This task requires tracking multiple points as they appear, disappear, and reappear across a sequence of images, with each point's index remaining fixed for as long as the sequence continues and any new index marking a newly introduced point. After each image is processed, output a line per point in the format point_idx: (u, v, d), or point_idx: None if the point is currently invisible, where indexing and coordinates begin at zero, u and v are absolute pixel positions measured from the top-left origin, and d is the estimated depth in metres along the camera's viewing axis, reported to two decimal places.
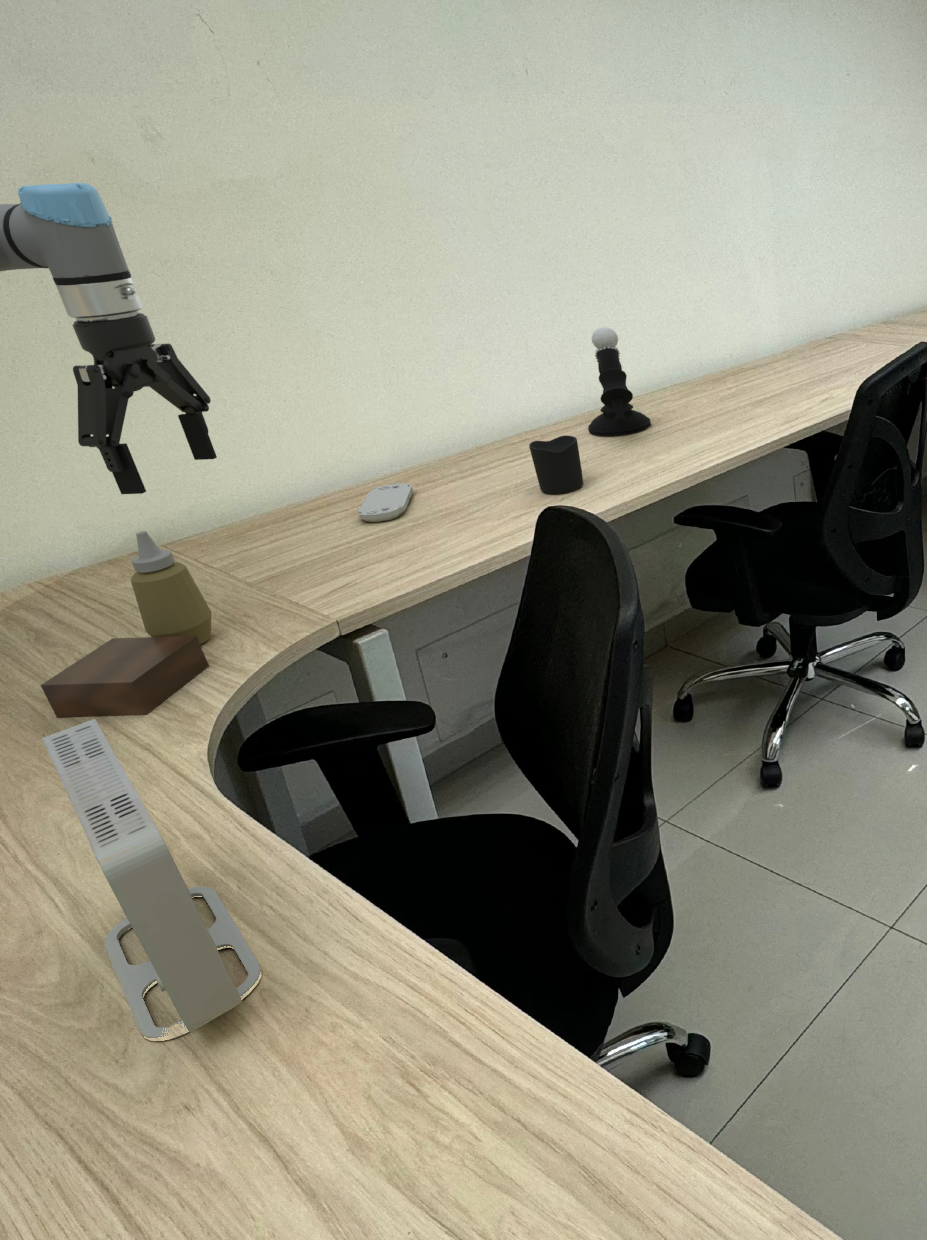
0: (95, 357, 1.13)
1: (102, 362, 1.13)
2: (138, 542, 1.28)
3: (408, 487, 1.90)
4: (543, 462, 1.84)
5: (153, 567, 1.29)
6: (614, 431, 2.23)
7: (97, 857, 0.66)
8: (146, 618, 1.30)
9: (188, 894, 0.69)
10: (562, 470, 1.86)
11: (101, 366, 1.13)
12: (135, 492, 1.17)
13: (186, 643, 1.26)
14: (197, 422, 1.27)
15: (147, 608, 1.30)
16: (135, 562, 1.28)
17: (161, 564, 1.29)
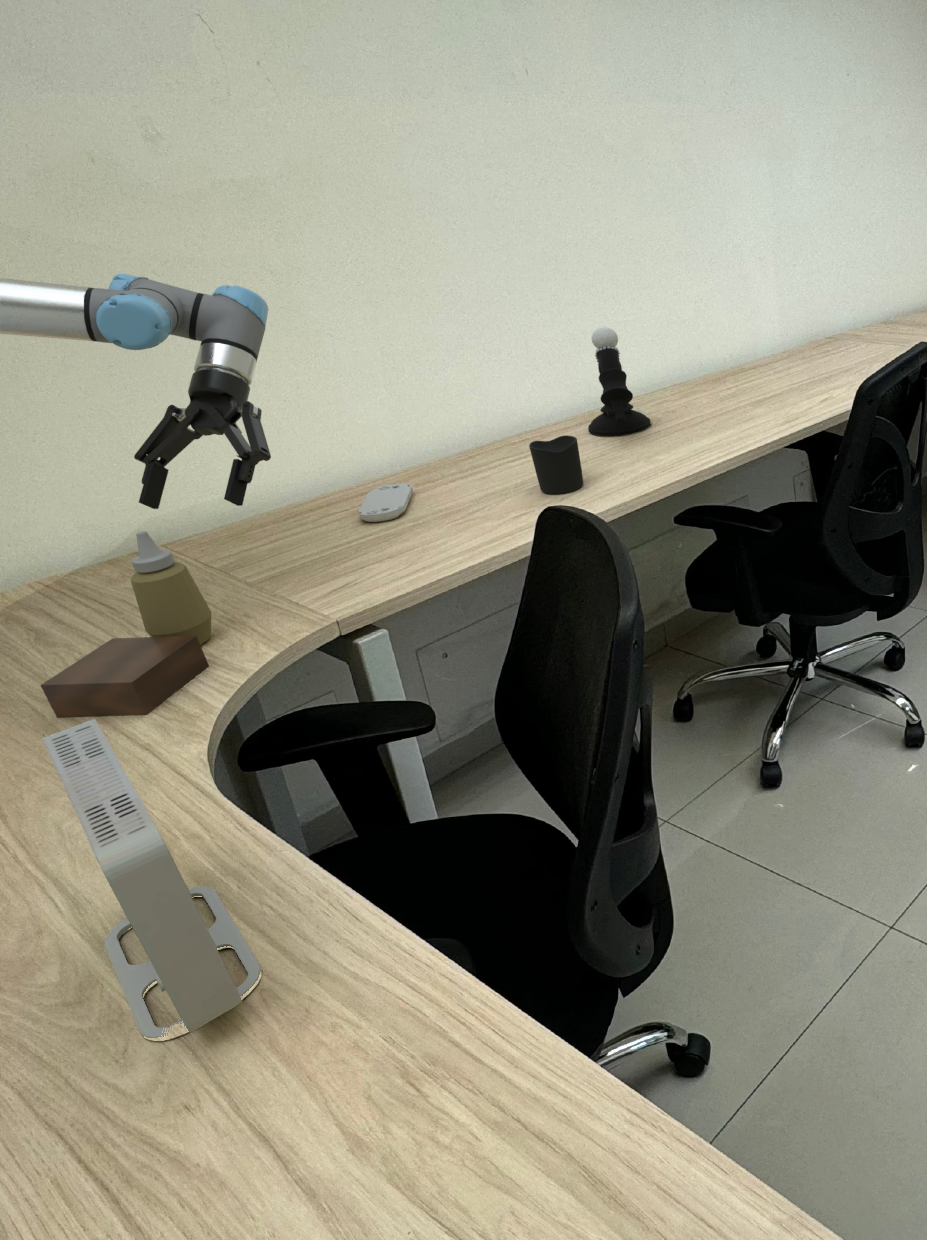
0: (236, 401, 1.42)
1: None
2: (138, 542, 1.28)
3: (408, 487, 1.90)
4: (543, 462, 1.84)
5: (153, 567, 1.29)
6: (614, 431, 2.23)
7: (97, 857, 0.66)
8: (146, 618, 1.30)
9: (188, 894, 0.69)
10: (562, 470, 1.86)
11: None
12: (238, 502, 1.37)
13: (186, 643, 1.26)
14: (165, 475, 1.40)
15: (147, 608, 1.30)
16: (135, 562, 1.28)
17: (161, 564, 1.29)
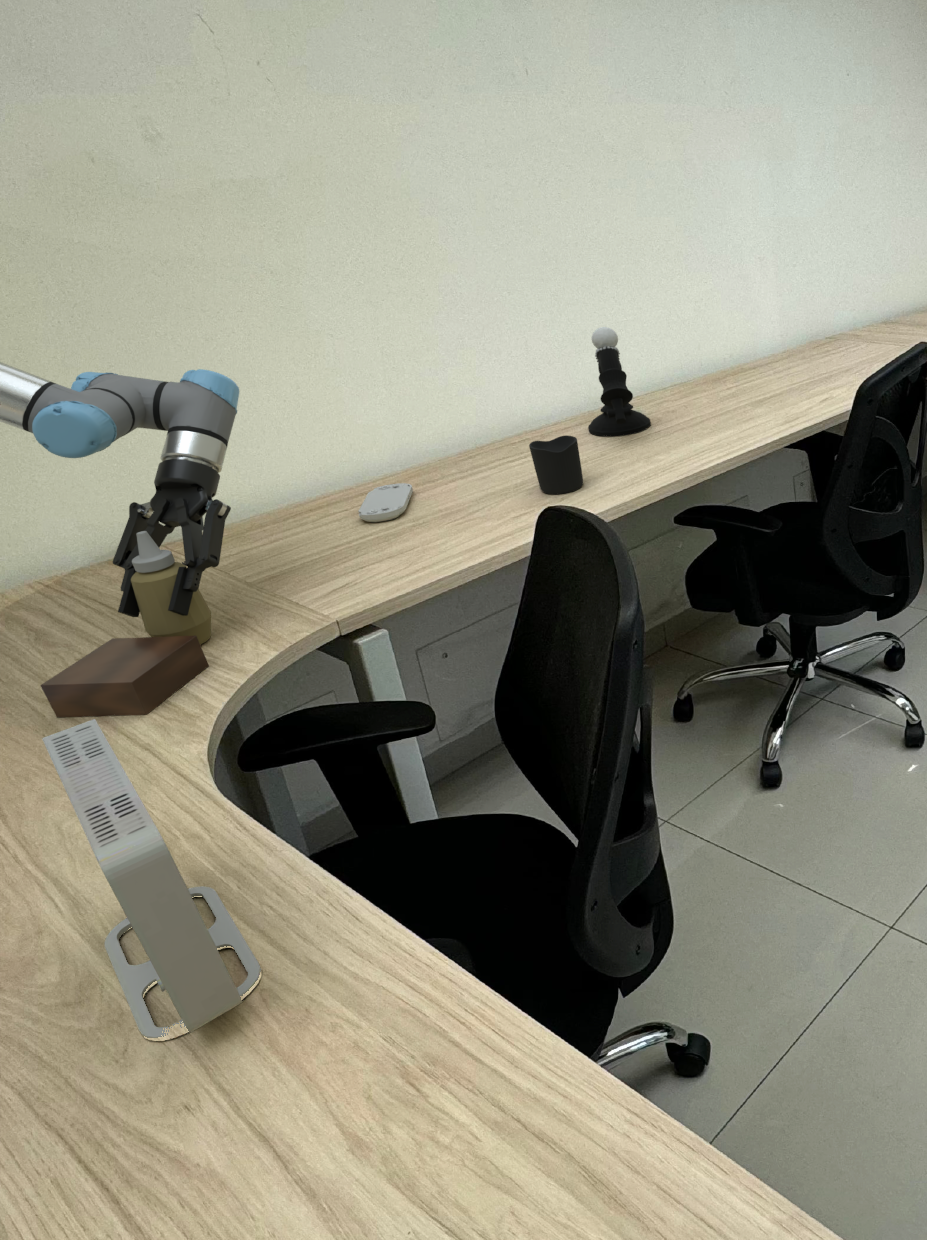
0: (206, 492, 1.36)
1: (206, 497, 1.36)
2: (138, 542, 1.28)
3: (408, 487, 1.90)
4: (543, 462, 1.84)
5: (154, 567, 1.29)
6: (614, 431, 2.23)
7: (97, 857, 0.66)
8: (146, 618, 1.30)
9: (188, 894, 0.69)
10: (562, 470, 1.86)
11: None
12: (183, 612, 1.30)
13: (186, 643, 1.26)
14: None
15: (147, 608, 1.30)
16: (135, 562, 1.28)
17: (161, 564, 1.29)
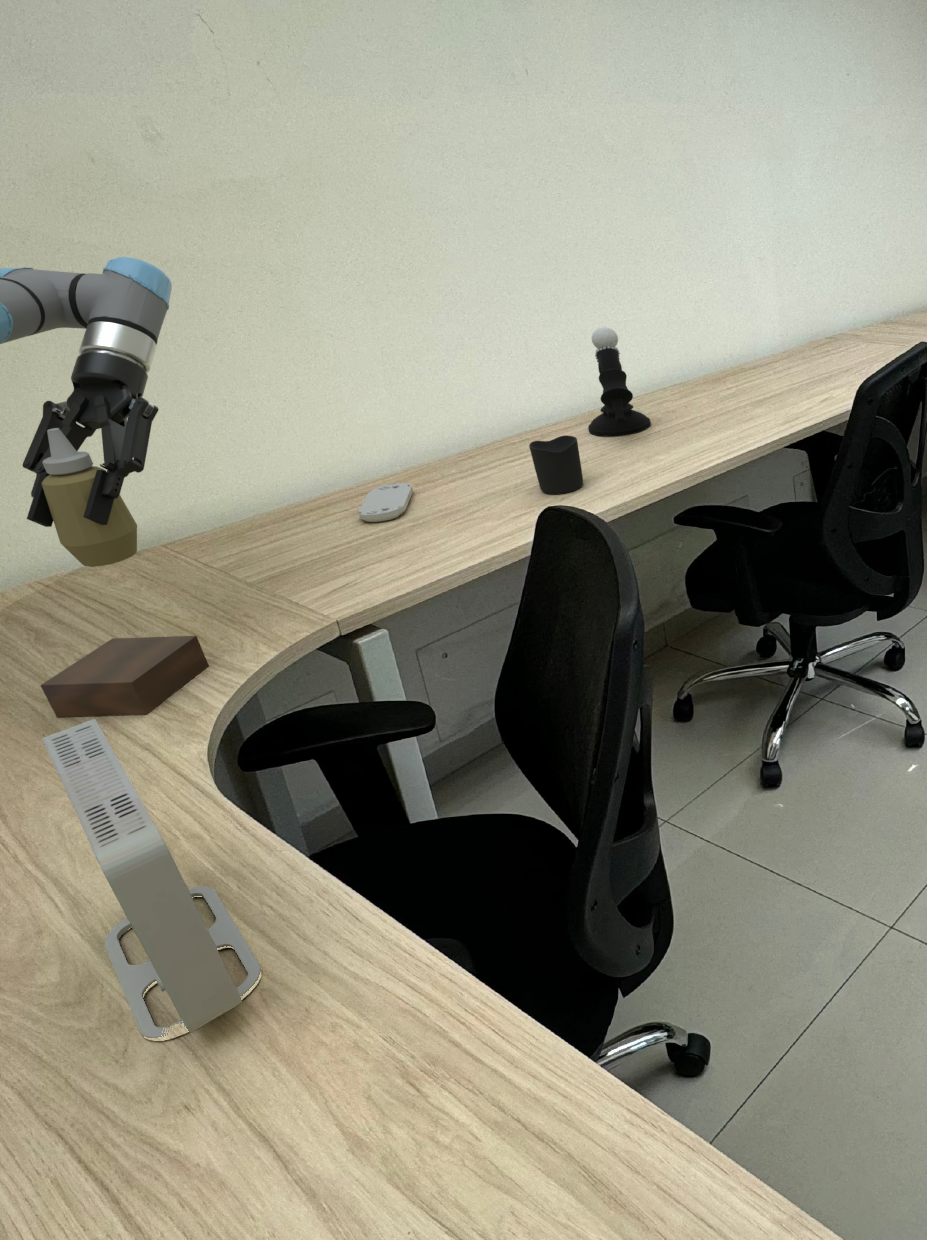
0: (130, 390, 1.22)
1: None
2: (49, 440, 1.14)
3: (408, 487, 1.90)
4: (543, 462, 1.84)
5: (67, 468, 1.15)
6: (614, 431, 2.23)
7: (97, 857, 0.66)
8: (60, 527, 1.16)
9: (188, 894, 0.69)
10: (562, 470, 1.86)
11: None
12: (102, 521, 1.16)
13: (186, 643, 1.26)
14: None
15: (60, 516, 1.16)
16: (46, 462, 1.14)
17: (76, 466, 1.15)
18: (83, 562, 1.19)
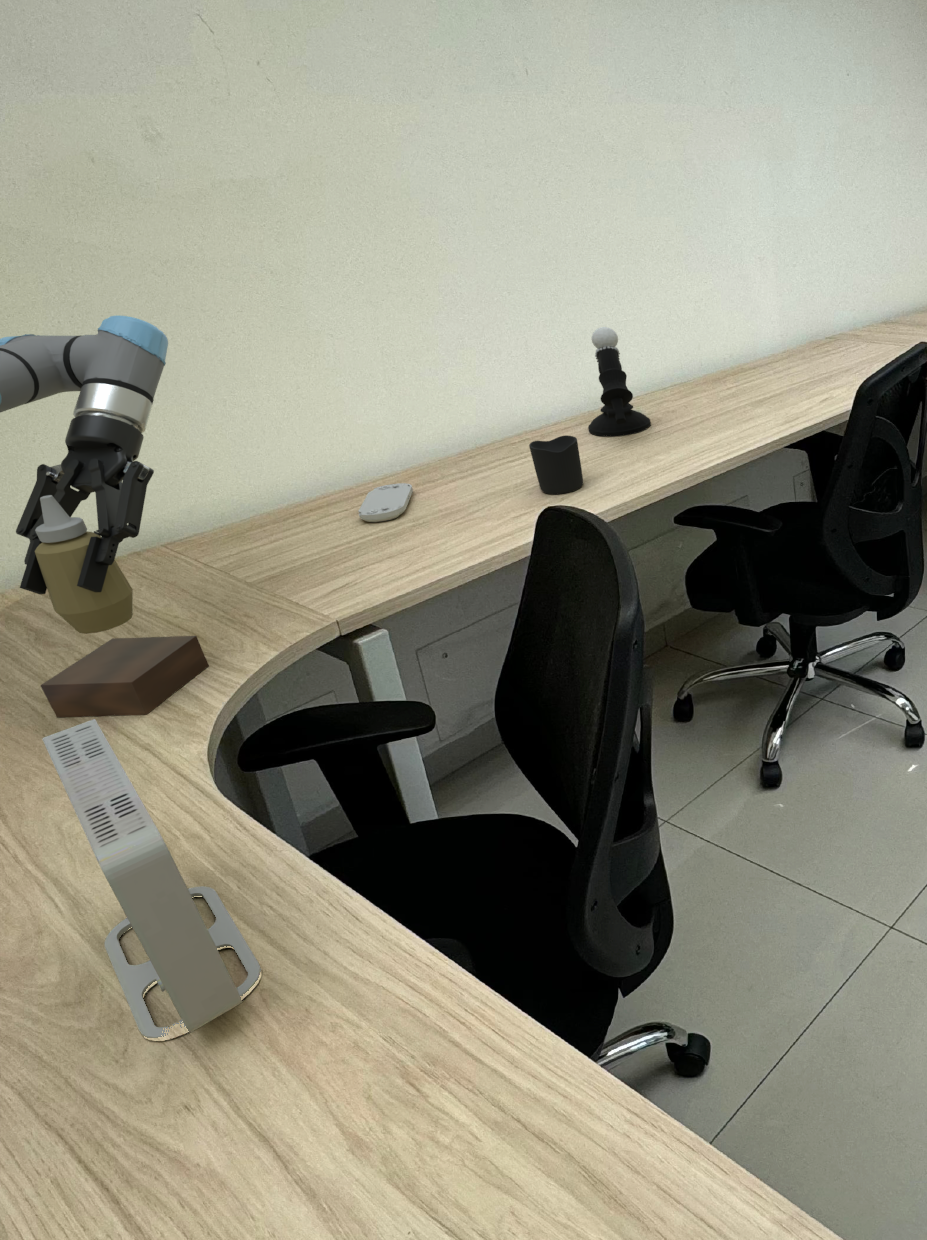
0: (125, 452, 1.20)
1: (126, 459, 1.20)
2: (42, 508, 1.12)
3: (408, 487, 1.90)
4: (543, 462, 1.84)
5: (60, 536, 1.13)
6: (614, 431, 2.23)
7: (97, 857, 0.66)
8: (53, 595, 1.14)
9: (188, 894, 0.69)
10: (562, 470, 1.86)
11: None
12: (96, 588, 1.14)
13: (186, 643, 1.26)
14: None
15: (54, 584, 1.14)
16: (39, 530, 1.12)
17: (70, 533, 1.13)
18: (77, 629, 1.17)
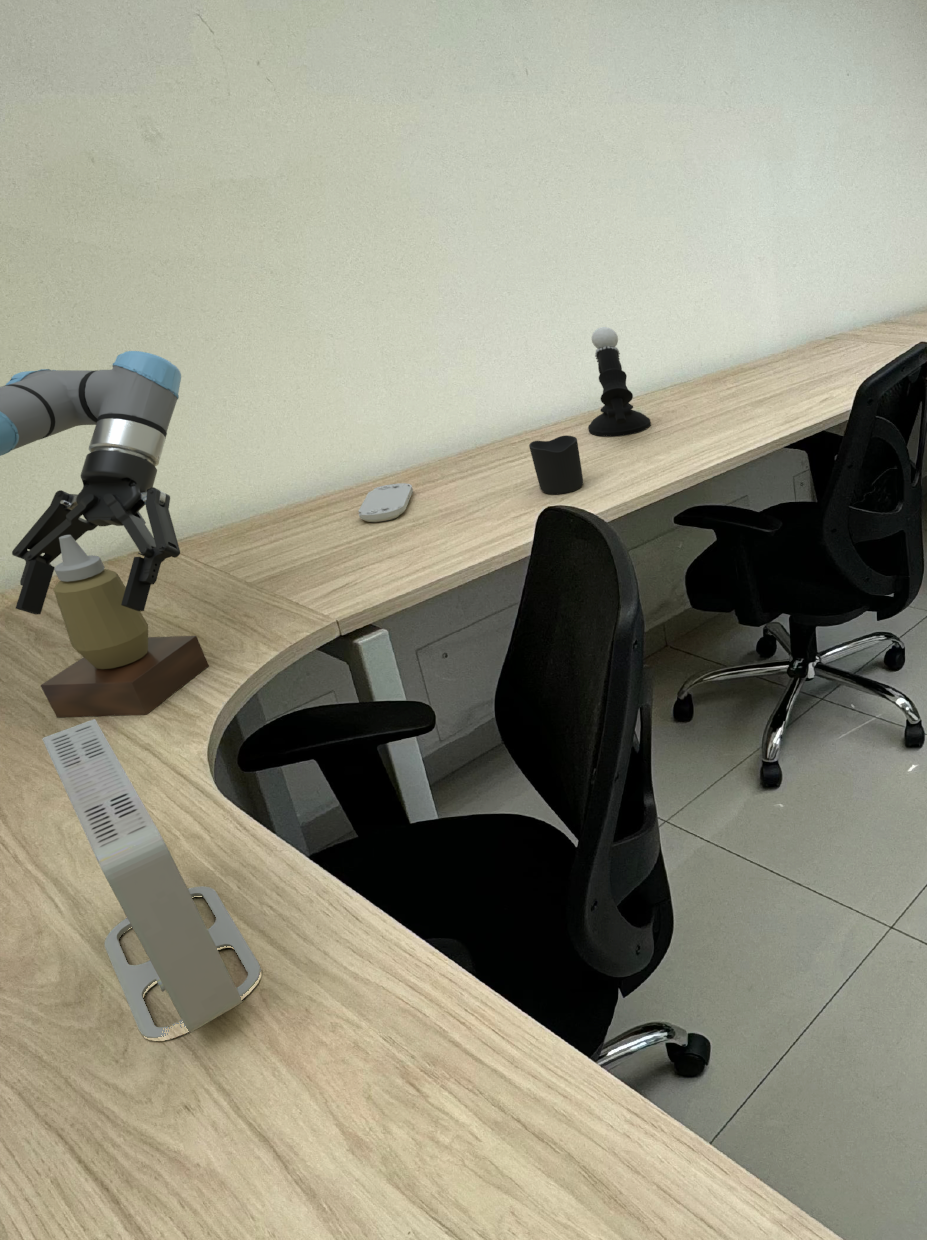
0: (139, 487, 1.22)
1: None
2: (61, 547, 1.14)
3: (408, 487, 1.90)
4: (543, 462, 1.84)
5: (79, 575, 1.15)
6: (614, 431, 2.23)
7: (97, 857, 0.66)
8: (71, 632, 1.17)
9: (188, 894, 0.69)
10: (562, 470, 1.86)
11: None
12: (139, 607, 1.17)
13: (186, 643, 1.26)
14: (50, 574, 1.19)
15: (72, 622, 1.16)
16: (58, 570, 1.14)
17: (88, 572, 1.15)
18: (94, 665, 1.19)
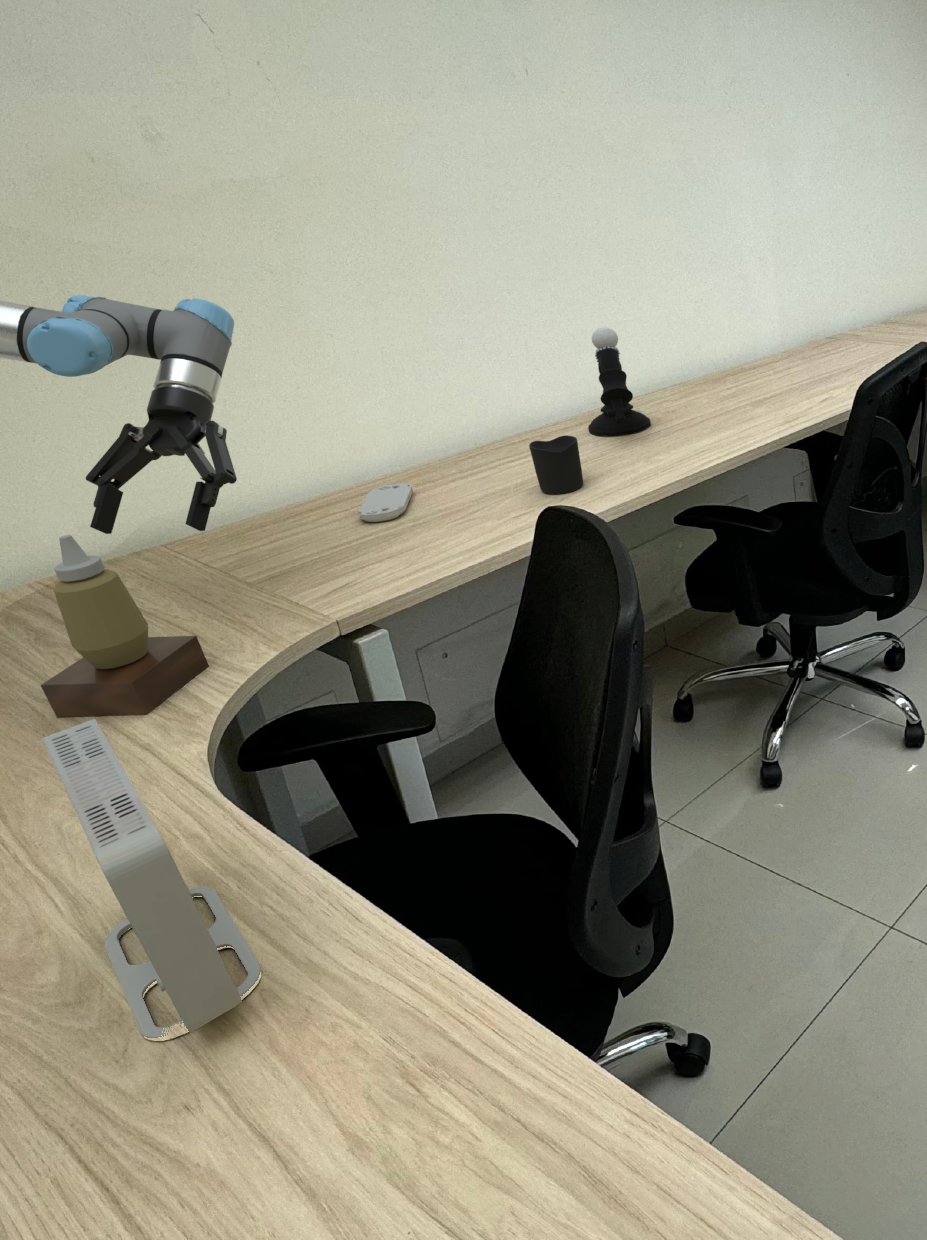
0: (199, 420, 1.34)
1: None
2: (61, 547, 1.14)
3: (408, 487, 1.90)
4: (543, 462, 1.84)
5: (79, 575, 1.15)
6: (614, 431, 2.23)
7: (97, 857, 0.66)
8: (71, 632, 1.17)
9: (188, 894, 0.69)
10: (562, 470, 1.86)
11: None
12: (201, 527, 1.29)
13: (186, 643, 1.26)
14: (119, 498, 1.32)
15: (72, 622, 1.16)
16: (58, 570, 1.14)
17: (88, 572, 1.15)
18: (94, 665, 1.19)
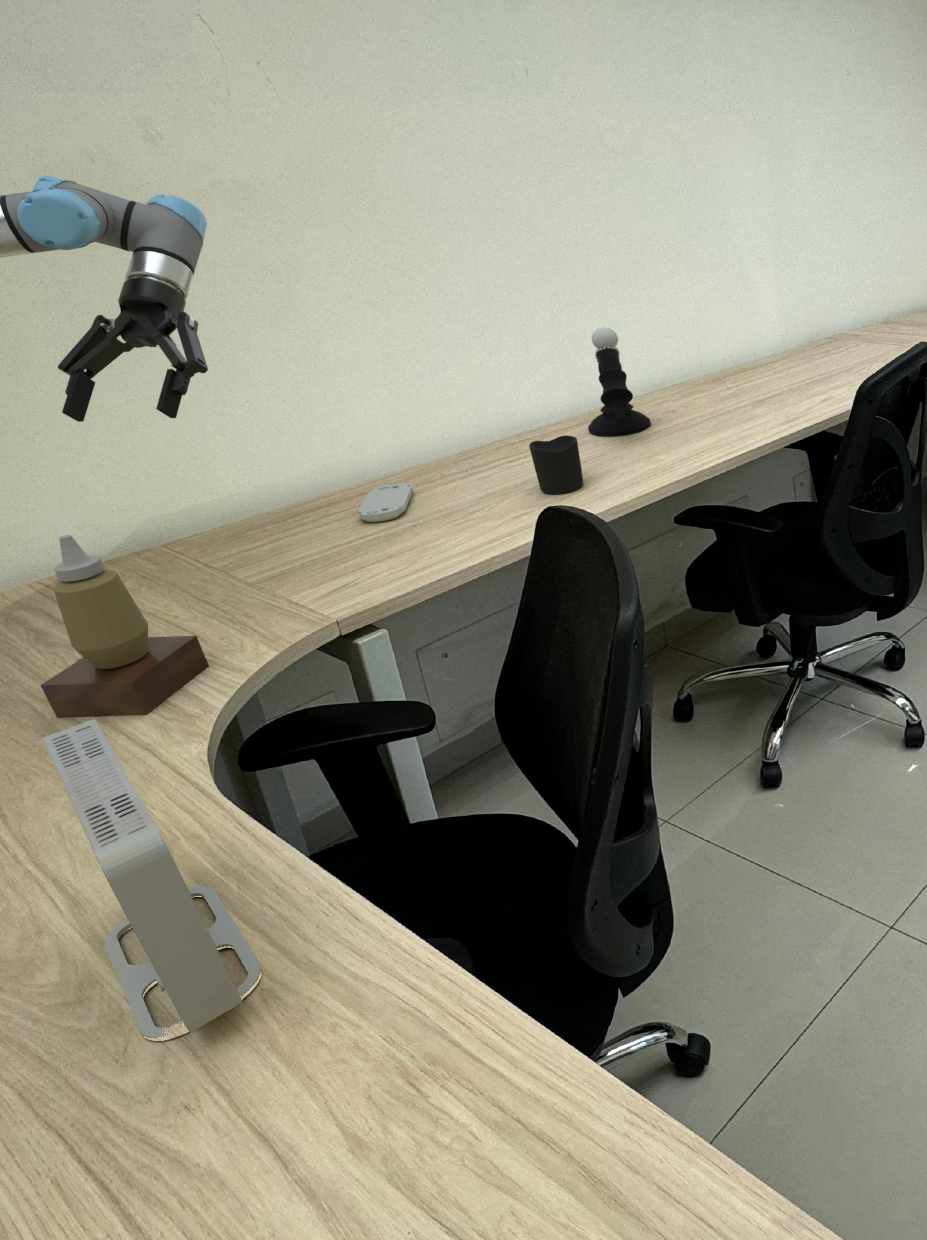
0: (170, 312, 1.35)
1: None
2: (61, 547, 1.14)
3: (408, 487, 1.90)
4: (543, 462, 1.84)
5: (79, 575, 1.15)
6: (614, 431, 2.23)
7: (97, 857, 0.66)
8: (71, 632, 1.17)
9: (188, 894, 0.69)
10: (562, 470, 1.86)
11: None
12: (172, 414, 1.31)
13: (186, 643, 1.26)
14: (91, 387, 1.33)
15: (72, 622, 1.16)
16: (58, 570, 1.14)
17: (88, 572, 1.15)
18: (94, 665, 1.19)
